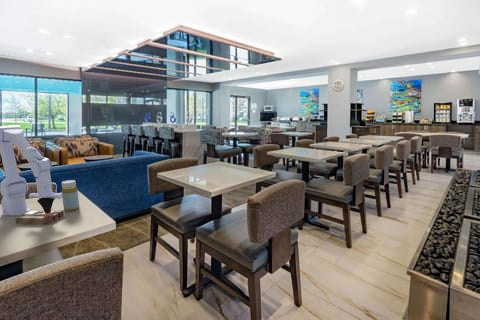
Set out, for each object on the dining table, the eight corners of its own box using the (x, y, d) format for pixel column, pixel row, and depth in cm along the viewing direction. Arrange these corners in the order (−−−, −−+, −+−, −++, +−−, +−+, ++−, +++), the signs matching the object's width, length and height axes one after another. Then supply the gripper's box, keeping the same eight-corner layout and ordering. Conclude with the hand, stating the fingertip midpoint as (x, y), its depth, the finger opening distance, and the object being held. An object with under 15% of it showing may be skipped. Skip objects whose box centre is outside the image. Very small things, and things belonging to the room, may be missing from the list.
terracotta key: (41, 220, 131) (40, 214, 131) (47, 216, 135) (47, 210, 135) (49, 220, 131) (49, 214, 130) (55, 216, 135) (55, 210, 134)
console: (16, 223, 129) (15, 217, 128) (32, 215, 139) (32, 209, 138) (49, 224, 128) (48, 218, 128) (64, 216, 138) (63, 210, 137)
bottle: (72, 212, 143) (69, 183, 140) (60, 211, 144) (57, 183, 141) (82, 207, 150) (79, 180, 147) (71, 206, 151) (68, 179, 148)
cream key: (25, 219, 132) (24, 213, 131) (31, 216, 136) (31, 210, 135) (33, 219, 131) (32, 213, 131) (39, 216, 135) (39, 210, 135)
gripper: (22, 187, 126) (26, 215, 129) (53, 187, 126) (57, 216, 128) (34, 182, 133) (38, 209, 136) (63, 183, 132) (67, 210, 135)
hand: (48, 212), depth 133 cm, fingers closed, pressing on terracotta key
